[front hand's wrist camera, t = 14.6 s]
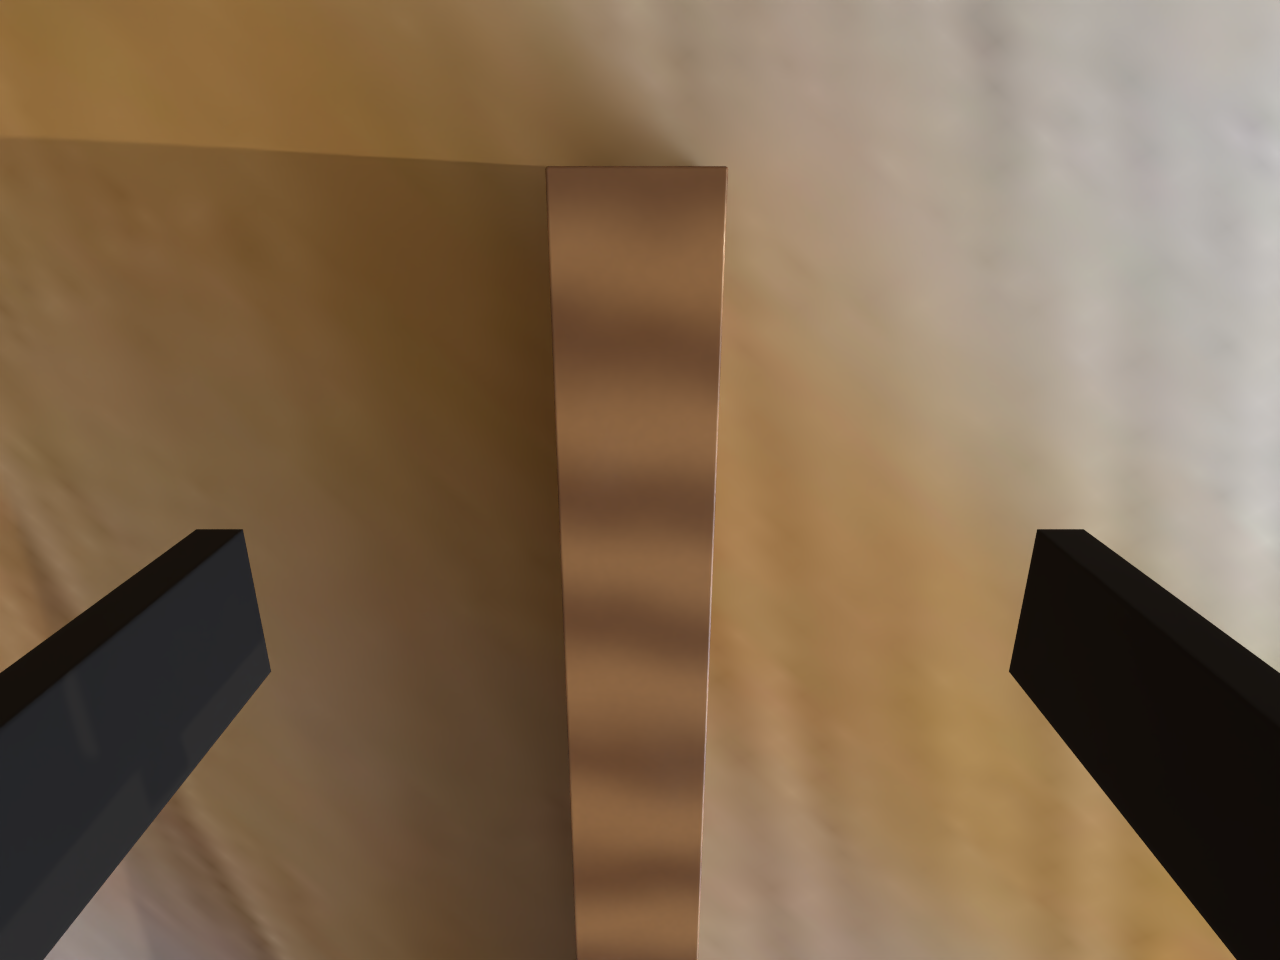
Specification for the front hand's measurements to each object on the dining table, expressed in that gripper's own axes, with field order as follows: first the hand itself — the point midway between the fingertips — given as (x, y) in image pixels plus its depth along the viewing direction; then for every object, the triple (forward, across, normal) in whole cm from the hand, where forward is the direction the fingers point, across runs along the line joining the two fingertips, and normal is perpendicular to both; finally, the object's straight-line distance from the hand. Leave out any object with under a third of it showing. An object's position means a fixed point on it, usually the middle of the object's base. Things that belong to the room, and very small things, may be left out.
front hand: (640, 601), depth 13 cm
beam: (+21, 0, -26) cm, 33 cm away
